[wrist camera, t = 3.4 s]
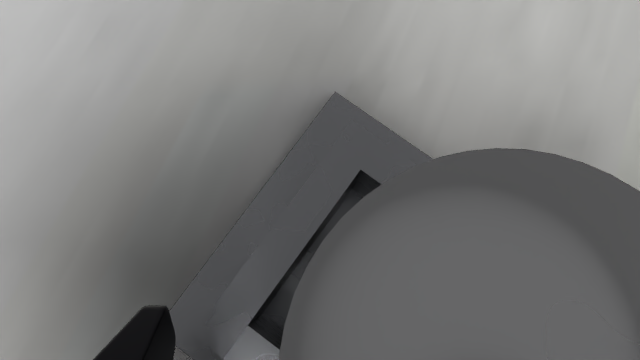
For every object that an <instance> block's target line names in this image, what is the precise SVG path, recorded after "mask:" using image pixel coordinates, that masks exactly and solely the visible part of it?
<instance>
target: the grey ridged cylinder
mask: <svg viewBox="0 0 640 360" xmlns="http://www.w3.org/2000/svg"><path fill="white" fill-rule="evenodd" d="M279 360H640V191H638V190H637V189H635V188H633V187H631V186H630V185H628V184H626V183H625V182H623V181H621V180H619V179H618V178H616V177H614V176H613V175H611V174H608V173H606V172H604V171H601V170H599V169H597V168H594V167H592V166H590V165H588V164H585V163H583V162H579V161H576V160H573V159H569V158H566V157H562V156H559V155H556V154H550V153H544V152H538V151H532V150H526V149H501V148H495V149H484V150H473V151H465V152H461V153H456V154H452V155H447V156H443V157H439V158H436V159H433V160H431V161H428V162H425V163H423V164H420V165H417V166H414V167H412V168H410V169H408V170H406V171H404V172H402V173H401V174H399V175H397V176H395V177H393V178H391V179H389V180H387V181H386V182H384V183H383V184H382V185H380V186H379V187H377V188H376V189H375V190H373V191H372V192H370V193H369V194H367V195H366V196H365V197H363V198H362V199H361V200H360V201H359V202H358V203H357V204H356V205H355V206H354V207H353V208H351V209H350V210H349V211H348V212H347V213H346V214H345V215H344V216H343V217H342V218H341V219H340V220H339V222H338V223H337V224H336V225H335V226H334V228H333V229H332V230H331V231H330V232H329V234H328V235H327V236H326V237H325V239H324V240H323V241H322V243H321V244H320V245H319V247H318V248H317V249H316V250H315V252H314V253H313V255H312V256H311V258H310V260H309V261H308V263H307V265H306V268H305V270H304V272H303V275H302V278H301V280H300V282H299V284H298V287H297V289H296V291H295V293H294V296H293V299H292V302H291V305H290V309H289V312H288V315H287V318H286V321H285V325H284V330H283V336H282V341H281V347H280V353H279Z"/></svg>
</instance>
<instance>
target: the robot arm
mask: <svg viewBox="0 0 640 360" xmlns="http://www.w3.org/2000/svg"><path fill="white" fill-rule="evenodd" d="M175 343H176V336H175V330H174V327H173V323H172V319H171V316H170V312H169V309H168V308H167V307H166V306H163V305H149V306H145V307H143V308H142V309H141V310H140V311H139V312H138V313H137V314H136V315H135V316H134V317H133V318H132V319H131V320H130V321H129V322H128V323H127V324H126V325H125V326H124V327H123V329H122V330H121V331H120V332H119V333H118V334H117V335H116V336H115V337H114V338H113V339H112V340H111V341H110V342H109V343H108V344H107V345H106V347H105V348H104V349H103V350H102V351H101V352H100V353H99V354H98V355H97V356H96V357H95V358H94V359H93V360H173V356H174V350H175Z"/></svg>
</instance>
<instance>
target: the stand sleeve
mask: <svg viewBox="0 0 640 360" xmlns="http://www.w3.org/2000/svg"><path fill="white" fill-rule="evenodd" d="M431 160H433V159H432V158H431V157H429V156H428V155H426V154H425V153H423V152H422V151H420V150H419V149H417V148H416V147H415V146H413V145H412V144H410V143H409V142H407V141H406V140H404V139H403V138H402V137H400V136H399V135H397V134H396V133H394V132H393V131H391V130H390V129H388V128H387V127H386V126H384V125H383V124H381V123H380V122H378V121H377V120H375V119H374V118H373V117H371V116H370V115H368V114H367V113H365V112H364V111H362V110H361V109H359V108H358V107H357V106H355V105H354V104H352V103H351V102H349V101H348V100H346V99H345V98H343V97H342V96H341V95H339V94H338V93H336V92H335V93H334V94H333V96H332V97H331V98H330V100H329V101H328V102H327V103H326V105H325V106H324V107H323V109H322V110H321V111H320V113H319V114H318V115H317V117H316V118H315V119H314V121H313V122H312V123H311V125H310V126H309V127H308V129H307V130H306V131H305V133H304V134H303V135H302V137H301V138H300V139H299V141H298V142H297V143H296V144H295V146H294V147H293V148H292V150H291V151H290V152H289V154H288V155H287V156H286V158H285V159H284V160H283V162H282V163H281V164H280V166H279V167H278V168H277V170H276V171H275V172H274V174H273V175H272V176H271V178H270V179H269V180H268V182H267V183H266V184H265V186H264V187H263V188H262V189H261V191H260V192H259V193H258V195H257V196H256V197H255V199H254V200H253V201H252V203H251V204H250V205H249V207H248V208H247V209H246V211H245V212H244V213H243V215H242V216H241V217H240V219H239V220H238V221H237V223H236V224H235V225H234V227H233V228H232V229H231V231H230V232H229V233H228V234H227V236H226V237H225V238H224V240H223V241H222V242H221V244H220V245H219V246H218V248H217V249H216V250H215V252H214V253H213V254H212V256H211V257H210V258H209V260H208V261H207V262H206V264H205V265H204V266H203V268H202V269H201V270H200V272H199V273H198V274H197V276H196V277H195V278H194V279H193V281H192V282H191V283H190V285H189V286H188V287H187V289H186V290H185V291H184V293H183V294H182V295H181V297H180V298H179V299H178V301H177V302H176V303H175V305H174V306H173V307H172V309H171V310H170V311H169V312H170V316H171V319H172V323H173V327H174V330H175V336H176V343H175V345H176V346H177V347H178V348H179V349H181V350H182V351H183V352H184V353H186V354H187V355H188V356H189V357H191V358H192V359H193V360H279V353H280V347H281V341H282V336H283V330H284V325H285V321H286V318H287V315H288V312H289V309H290V305H291V302H292V299H293V296H294V293H295V291H296V289H297V287H298V284H299V282H300V280H301V278H302V275H303V272H304V270H305V268H306V265H307V263H308V261H309V260H310V258H311V256H312V255H313V253H314V252H315V250H316V249H317V248H318V247H319V245H320V244H321V243H322V241H323V240H324V239H325V237H326V236H327V235H328V234H329V232H330V231H331V230H332V229H333V228H334V226H335V225H336V224H337V223H338V222H339V220H340V219H341V218H342V217H343V216H344V215H345V214H346V213H347V212H348V211H349V210H350V209H351V208H353V207H354V206H355V205H356V204H357V203H358V202H359V201H360V200H361V199H362V198H363V197H365V196H366V195H367V194H369V193H370V192H372V191H373V190H375V189H376V188H377V187H379V186H380V185H382V184H383V183H384V182H386V181H387V180H389V179H391V178H393V177H395V176H397V175H399V174H401V173H402V172H404V171H406V170H408V169H410V168H412V167H414V166H417V165H420V164H423V163H425V162H428V161H431Z"/></svg>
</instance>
